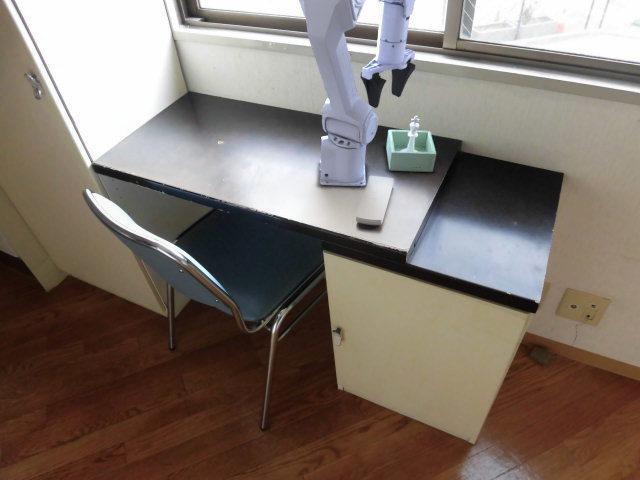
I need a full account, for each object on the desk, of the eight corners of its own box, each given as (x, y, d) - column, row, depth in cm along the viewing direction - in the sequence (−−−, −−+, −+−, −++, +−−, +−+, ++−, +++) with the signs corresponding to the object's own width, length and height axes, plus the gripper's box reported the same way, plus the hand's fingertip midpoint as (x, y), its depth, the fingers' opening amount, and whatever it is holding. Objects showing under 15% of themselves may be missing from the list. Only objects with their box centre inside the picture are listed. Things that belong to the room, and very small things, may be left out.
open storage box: (389, 170, 103) (391, 152, 100) (386, 147, 110) (388, 129, 107) (432, 171, 103) (436, 153, 100) (426, 148, 110) (430, 130, 106)
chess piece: (397, 150, 108) (403, 110, 101) (418, 151, 108) (426, 110, 101) (399, 162, 104) (405, 121, 97) (421, 163, 104) (429, 122, 97)
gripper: (383, 52, 89) (376, 118, 98) (430, 34, 97) (419, 96, 106) (356, 42, 93) (352, 105, 102) (403, 25, 100) (395, 86, 110)
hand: (384, 100), depth 104 cm, fingers open, 7 cm apart
